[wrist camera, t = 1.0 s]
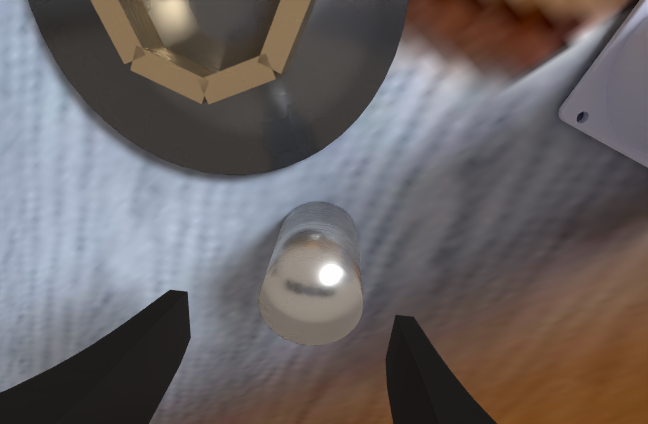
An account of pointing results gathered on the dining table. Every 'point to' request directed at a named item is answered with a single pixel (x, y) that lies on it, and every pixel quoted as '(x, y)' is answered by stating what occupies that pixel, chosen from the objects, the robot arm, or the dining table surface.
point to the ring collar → (225, 72)
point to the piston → (314, 276)
